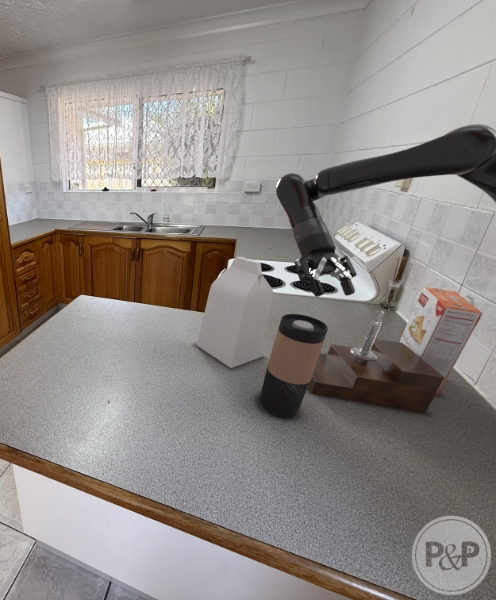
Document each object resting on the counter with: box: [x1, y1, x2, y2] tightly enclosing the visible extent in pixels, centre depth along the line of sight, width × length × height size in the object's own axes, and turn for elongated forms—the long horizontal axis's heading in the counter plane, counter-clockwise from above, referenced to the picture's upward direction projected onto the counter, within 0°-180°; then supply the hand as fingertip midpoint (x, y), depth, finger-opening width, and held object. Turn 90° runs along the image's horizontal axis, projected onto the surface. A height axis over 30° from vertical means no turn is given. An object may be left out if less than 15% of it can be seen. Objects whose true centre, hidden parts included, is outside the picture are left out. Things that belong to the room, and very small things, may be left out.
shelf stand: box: [308, 338, 445, 414], centre depth 72 cm, size 21×14×9 cm, turn 74°
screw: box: [350, 309, 385, 364], centre depth 69 cm, size 13×5×5 cm
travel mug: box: [259, 313, 329, 419], centre depth 62 cm, size 8×8×20 cm
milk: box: [196, 256, 274, 369], centre depth 81 cm, size 12×12×26 cm
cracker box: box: [399, 286, 484, 395], centre depth 73 cm, size 14×6×21 cm, turn 149°
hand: (335, 294), depth 77 cm, fingers open, 8 cm apart
